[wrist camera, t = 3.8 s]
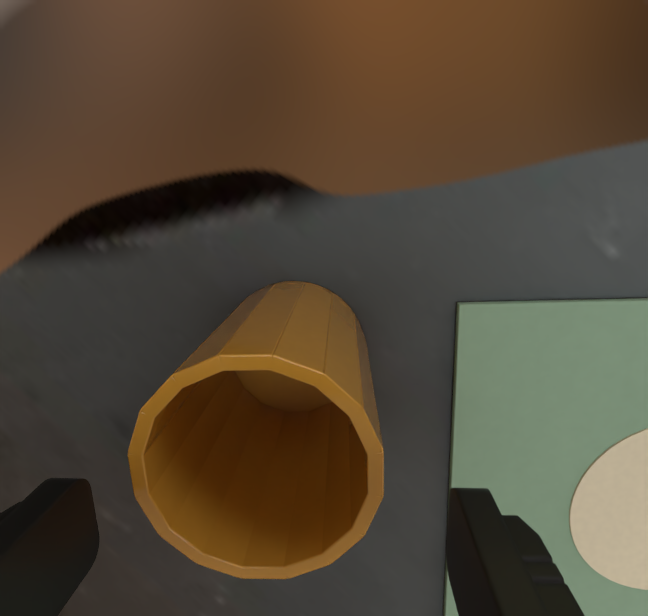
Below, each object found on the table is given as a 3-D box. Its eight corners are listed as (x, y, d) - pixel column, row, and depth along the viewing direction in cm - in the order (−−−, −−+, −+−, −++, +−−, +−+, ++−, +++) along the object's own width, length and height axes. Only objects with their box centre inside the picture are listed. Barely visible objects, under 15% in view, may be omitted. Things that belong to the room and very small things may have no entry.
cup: (232, 413, 20) (146, 578, 11) (220, 282, 18) (110, 357, 10) (365, 412, 20) (383, 581, 11) (364, 278, 18) (384, 351, 9)
